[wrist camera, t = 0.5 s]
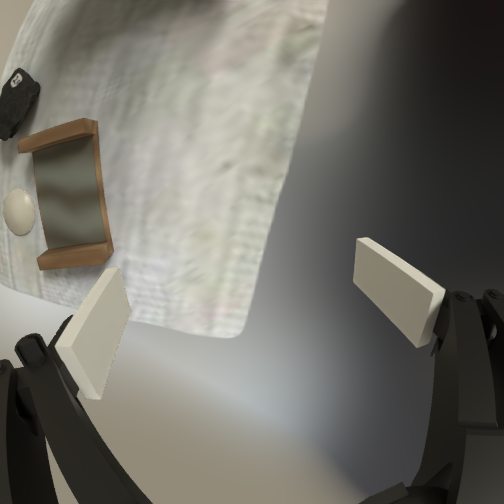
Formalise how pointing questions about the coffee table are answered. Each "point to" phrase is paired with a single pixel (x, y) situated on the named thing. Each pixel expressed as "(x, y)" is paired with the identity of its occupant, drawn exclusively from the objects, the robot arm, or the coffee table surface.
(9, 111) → the mineral
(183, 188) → the coffee table surface
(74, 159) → the rest
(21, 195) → the cream glossy rounded part
